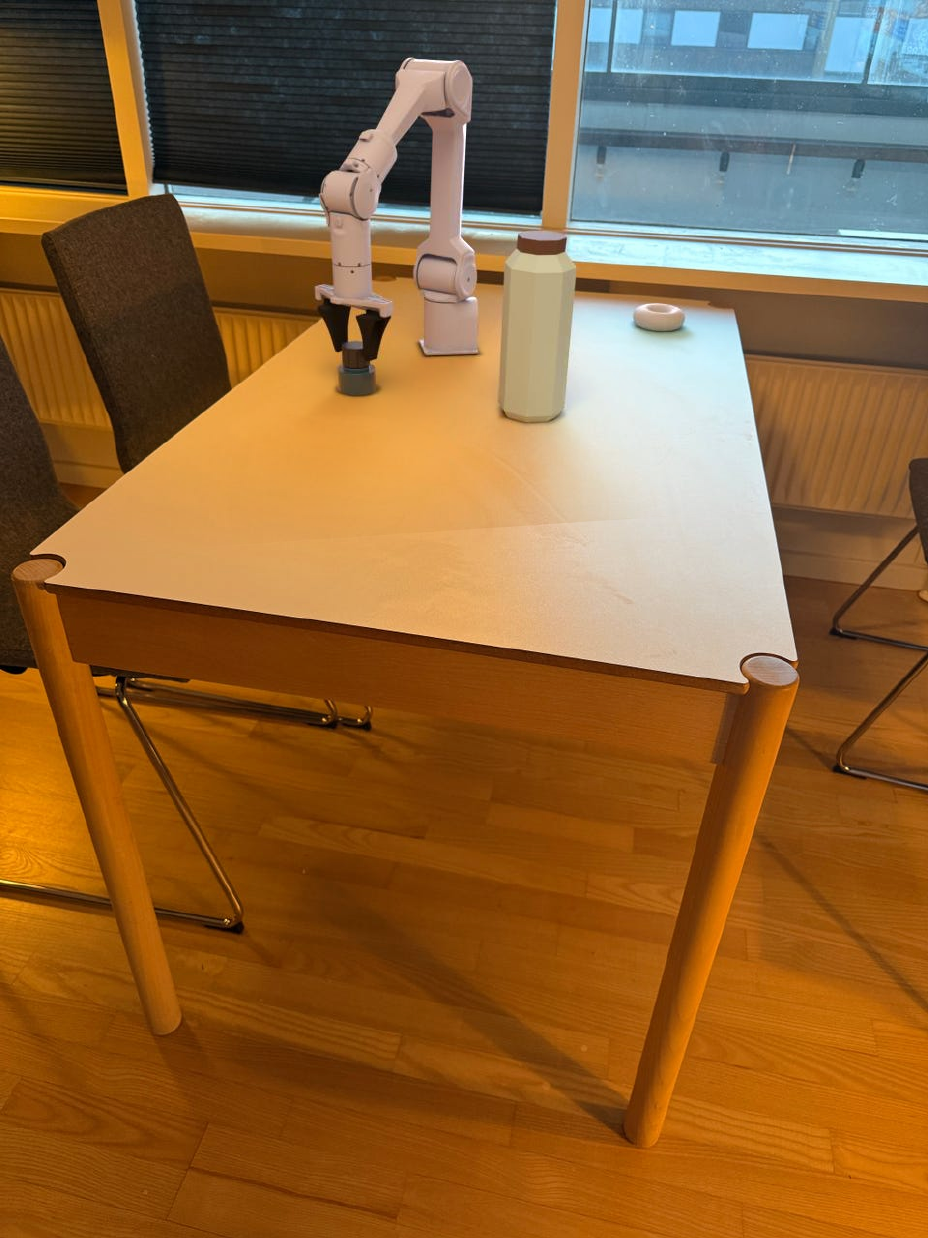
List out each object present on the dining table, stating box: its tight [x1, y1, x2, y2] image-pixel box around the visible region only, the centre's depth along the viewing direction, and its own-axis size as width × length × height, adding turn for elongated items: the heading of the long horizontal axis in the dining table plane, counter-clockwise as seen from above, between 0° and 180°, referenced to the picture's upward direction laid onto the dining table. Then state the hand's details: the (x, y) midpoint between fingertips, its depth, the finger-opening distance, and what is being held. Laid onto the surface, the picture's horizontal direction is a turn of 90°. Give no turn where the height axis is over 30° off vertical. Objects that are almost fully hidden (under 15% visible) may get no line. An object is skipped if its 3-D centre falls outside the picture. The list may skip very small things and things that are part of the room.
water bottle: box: [497, 230, 578, 424], centre depth 127 cm, size 10×10×25 cm
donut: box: [632, 303, 686, 332], centre depth 173 cm, size 10×4×10 cm
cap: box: [341, 340, 371, 368], centre depth 137 cm, size 4×4×3 cm
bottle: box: [336, 363, 377, 397], centre depth 139 cm, size 6×6×6 cm
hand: (355, 355), depth 138 cm, fingers open, 6 cm apart
